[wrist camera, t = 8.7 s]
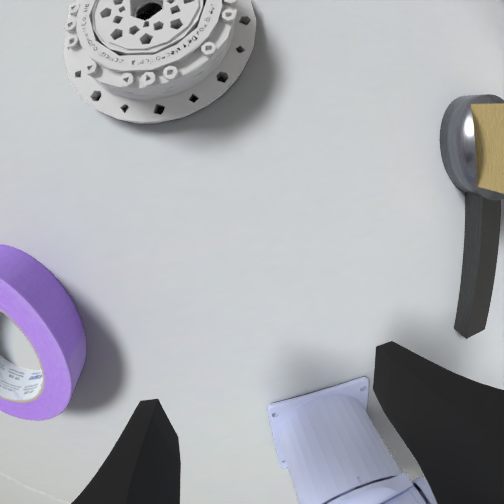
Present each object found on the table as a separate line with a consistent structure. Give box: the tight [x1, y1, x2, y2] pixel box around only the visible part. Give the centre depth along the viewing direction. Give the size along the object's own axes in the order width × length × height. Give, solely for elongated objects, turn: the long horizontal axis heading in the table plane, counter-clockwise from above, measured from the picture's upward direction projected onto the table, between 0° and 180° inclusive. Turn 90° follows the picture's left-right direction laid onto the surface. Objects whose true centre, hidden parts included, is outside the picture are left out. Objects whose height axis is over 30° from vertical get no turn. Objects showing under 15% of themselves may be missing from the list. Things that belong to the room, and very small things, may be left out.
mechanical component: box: [63, 0, 257, 124], centre depth 11 cm, size 10×4×10 cm
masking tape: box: [0, 245, 87, 421], centre depth 15 cm, size 12×12×4 cm
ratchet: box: [440, 95, 504, 339], centre depth 17 cm, size 19×7×6 cm, turn 10°
